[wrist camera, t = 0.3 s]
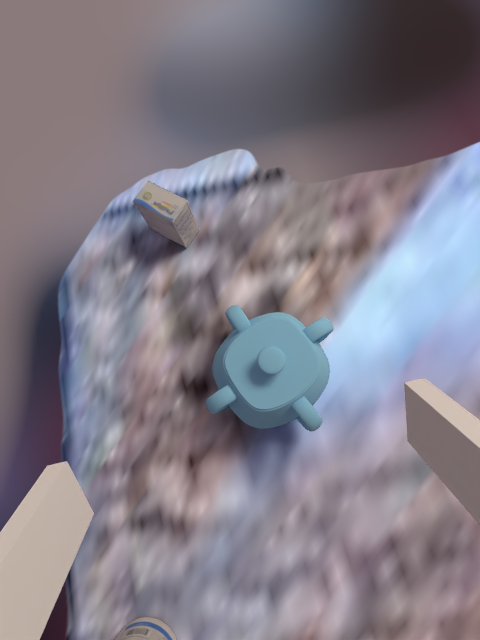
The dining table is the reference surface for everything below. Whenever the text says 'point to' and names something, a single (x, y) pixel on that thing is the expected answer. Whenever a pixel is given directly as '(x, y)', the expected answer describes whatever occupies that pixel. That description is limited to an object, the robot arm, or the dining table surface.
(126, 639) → the supplement tub
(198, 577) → the dining table surface
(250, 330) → the decorative pot
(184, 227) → the medicine box
